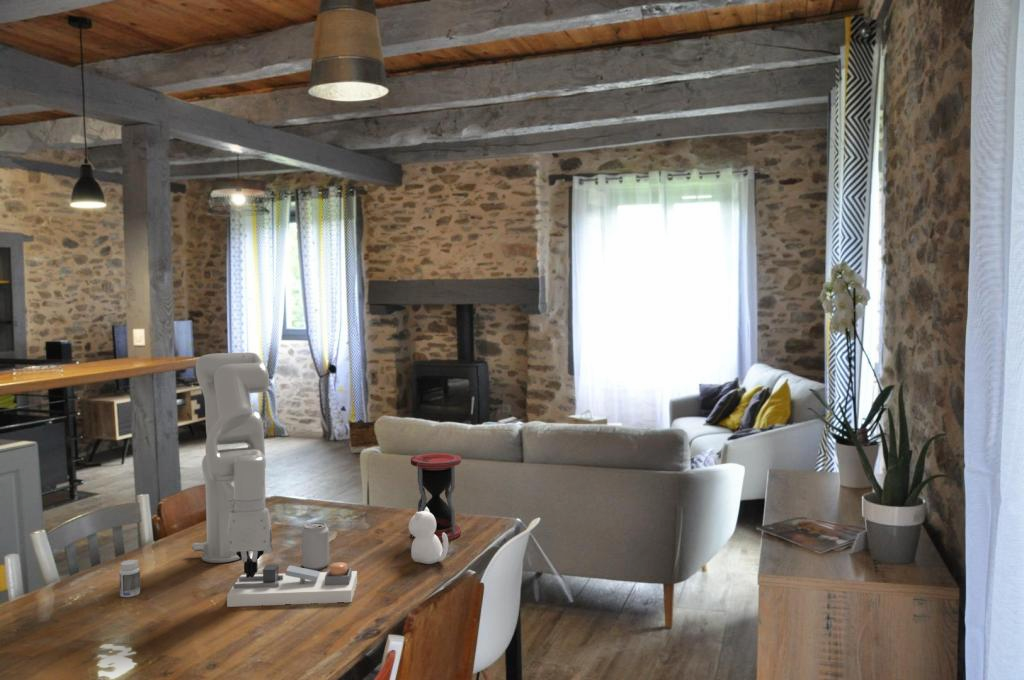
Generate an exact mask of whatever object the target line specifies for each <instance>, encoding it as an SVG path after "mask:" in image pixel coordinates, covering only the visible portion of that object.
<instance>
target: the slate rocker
mask: <svg viewBox="0 0 1024 680" xmlns="http://www.w3.org/2000/svg"><path fill="white" fill-rule="evenodd" d="M320 572H321V571H320V570H319V571H318V570H310V569H306V568H305V567H304V568H303V567H300V566H295V565H288V566H287V568H286V571H285V572H284V573H285V575H287V576H292V577H297V578H302V579H307V580H311V581H317V579H318V577H319V573H320Z"/></svg>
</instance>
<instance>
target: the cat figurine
mask: <svg viewBox="0 0 1024 680" xmlns="http://www.w3.org/2000/svg"><path fill="white" fill-rule="evenodd" d="M408 530H409V533H410V535H411V534H412V535H413V536H414V537H416V538H413V541H412V544H411V548H410V550H411V552H410V555H411V559H412V560H413V561H414V562H416V563H422V564H427V565H433V564H436V563H437V562H442V561H443V560H444V559H445V558H446V556H447V555H448V550H449V540H448V538H447V535H446V534H445V533H442V539H443V541H440V540H439V538H438V537H437V536H436V535H435V534H433V533H434V532H435V530H436V520H435V517H434V516H433V514H432V513H430V511H429V509H428V508H427V507H426V508H425V510H424V511H421V512H418V511H416V512H415V514H414V515H413V516H412V517H411V518H410V520H409V522H408ZM441 542H443V543H441ZM442 544H443V545H442Z"/></svg>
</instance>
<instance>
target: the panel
mask: <svg viewBox="0 0 1024 680" xmlns="http://www.w3.org/2000/svg"><path fill="white" fill-rule="evenodd" d="M352 569H353V568H351V567H347V575H346V576H330V568H327V571H322V572H321V571H320V573H319V577H318V579H317V581H311V580H307V579H302V578H297V577H292V576H287V575H285V573H286V572H283V573H279V580H278V581H277V582H273V583H263V573H259V574H257V573H255V575H254V577H249V578H246V574H241V575H240V576H238V579H237V581H236V582H235V583H233V586H232V587H231V589H230V590H229V592H228V593H227V594H226V598H227V599H226V604H227V607H226V608H228V607H229V608H232V607H256V606H262V605H263V606H285V604H291V605H312V604H313V603H318V604H338V603H337V602H344V603H352V601H353V599H352V598H354V596H355V595H354V594H355V592H354V591H356V588H357V585H356V584H358V570H352ZM311 603H312V604H311Z"/></svg>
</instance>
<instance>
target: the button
mask: <svg viewBox="0 0 1024 680" xmlns="http://www.w3.org/2000/svg"><path fill="white" fill-rule="evenodd" d="M347 568H348V564H347V563H346V562H343V561H342V562H339V561H338V562H333V563H331V564H329V569H330V576H346V575H347Z"/></svg>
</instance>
